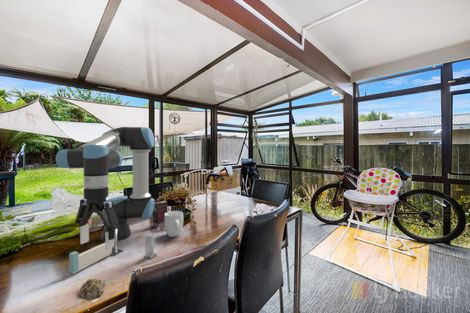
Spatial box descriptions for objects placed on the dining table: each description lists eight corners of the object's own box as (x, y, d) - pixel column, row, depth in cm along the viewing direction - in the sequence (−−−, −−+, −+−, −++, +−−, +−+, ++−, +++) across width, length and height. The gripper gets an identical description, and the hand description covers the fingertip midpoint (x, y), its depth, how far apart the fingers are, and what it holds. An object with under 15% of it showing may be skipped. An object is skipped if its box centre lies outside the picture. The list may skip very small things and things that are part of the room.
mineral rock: (72, 286, 74) (96, 270, 80) (76, 295, 76) (100, 279, 82) (83, 300, 68) (108, 282, 74) (87, 310, 69) (112, 291, 75)
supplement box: (163, 222, 146) (163, 200, 145) (167, 224, 143) (167, 201, 143) (152, 226, 139) (152, 203, 138) (157, 228, 136) (157, 204, 135)
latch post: (144, 257, 99) (144, 236, 98) (149, 253, 102) (149, 233, 102) (151, 259, 97) (151, 238, 97) (156, 255, 101) (156, 235, 100)
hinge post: (106, 254, 101) (106, 230, 101) (115, 249, 106) (115, 226, 105) (114, 256, 99) (113, 231, 99) (122, 251, 104) (122, 228, 104)
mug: (188, 238, 121) (188, 216, 120) (169, 242, 115) (169, 219, 114) (179, 229, 133) (179, 209, 133) (162, 233, 127) (162, 212, 127)
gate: (108, 252, 101) (108, 236, 100) (112, 253, 100) (111, 237, 100) (69, 272, 84) (69, 253, 84) (73, 274, 83) (73, 254, 83)
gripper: (62, 186, 76) (63, 244, 76) (112, 191, 68) (112, 256, 68) (83, 183, 83) (83, 236, 83) (130, 187, 75) (130, 246, 75)
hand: (96, 245), depth 76 cm, fingers open, 12 cm apart
